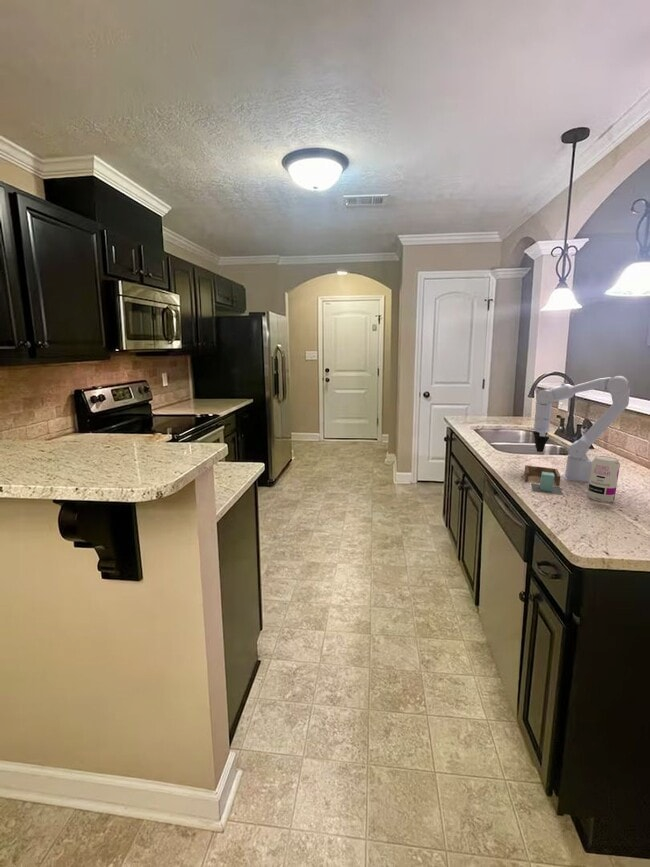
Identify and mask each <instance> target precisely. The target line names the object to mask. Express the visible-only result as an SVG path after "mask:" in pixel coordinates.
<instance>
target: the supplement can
mask: <svg viewBox="0 0 650 867" xmlns="http://www.w3.org/2000/svg"><path fill="white" fill-rule="evenodd" d="M592 460H593V461H592V465H591V472H590V479H589V482H588V485H587V486H588V487H587V498H589V499H591V500H594V501H597V502H603V503H612V502H614V501H615V499H616V498H615V497H616V493H617V488H618V487H617V486H618V481H619V474H620V468H621V467H620V466H621V464H620V461H619V459H618V458H616V457H612V456H605V455H597V456H594V458H593V459H592Z"/></svg>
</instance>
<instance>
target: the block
mask: <svg viewBox="0 0 650 867" xmlns="http://www.w3.org/2000/svg"><path fill="white" fill-rule="evenodd" d="M554 477H555V476H554V473H549V472H542V473H541V482H540V483H539V485H540V489H541V490H546V491H553V486H554V485H553V484H554Z"/></svg>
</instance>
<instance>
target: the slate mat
mask: <svg viewBox="0 0 650 867" xmlns="http://www.w3.org/2000/svg"><path fill="white" fill-rule="evenodd" d="M531 489H532V490H531V491H532V492H534V493H536V492H537V493H543V494H552V495H559V496H564V494H563V492H562V489H561V486H557V485H553V491H546V490H541V489H540V483H531Z"/></svg>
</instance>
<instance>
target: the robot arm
mask: <svg viewBox="0 0 650 867" xmlns="http://www.w3.org/2000/svg"><path fill="white" fill-rule="evenodd" d="M630 386H631V385H630V382H629V380H628V378H626V377H625V376H623V375H616V376H614V377H611V376H608V377H603V378H602V377H600V378H597V379H593V380H589V381H587V382H583V383H578V384H576V385H571V384H569V383H565V382H564V383H561V384H560V385H559V386H555V387H551V386H550V387H548V389H543V390H541V391H539V392H538V393H537V394H536V398H535V399H536V401H537V402H536V409H535V417H534V426H533V427H530V430H531V431H532V434H533V436H534V446H535V448H536V452H537V453H543V451H544V449H545V446H546V444H547V442H548V440H549V439H550V436H547V435H548V433H549V432H550V426H551V415H552V407H553V406H552V404H553V402H559V401H563V400H566V399H567V400H568V399H572V398H573V397H574V395H575V394H577V393H582V392H588V391H592V390H596V389H597V390H602V391H606V390H607V391H608V393H609V394H610V396H611V401H612V404H611V405H610V406H609V407H608V408H607V409H606V410H605V411H604V412H603V413H602V415H600V417H599V418H598V419H597V420H596V421H595V422H594V423H593V425H592V426H590V427H589V429H588V430H587V431H586V432H585V433H584V434H583V435H582V436H581V437H580V438H579V439H576V440H575V441H574V442H572V444H571V445H570V446H569V447H568V449H567V452H568V454H567V457H566V458H567V459H566V463H565V464H566V466H565V473H563V474H562V476H563V478H564V480H566V481H575V482H583V483H589V479H590V472H591V465H592V461H593V459H591V458H589V457H588V455H587V453H588V452H589V450H590V447H591V446H592V445H593V444H594V443H595V441H596V440H598V438H599V437H600V436H601V435H602V434H603V433H604V432H605V431H606V430H607V429H608V428H609V427H610V425H611V424H612V423H613V422H614V421H615V420H616V419H617V418H618V417H619V416H620V415H621V414H622V413H623V411H624V410H625V409H627V408H628V406H629V405H630V404H629V402H630V392H631V391H630V390H631V387H630Z"/></svg>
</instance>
